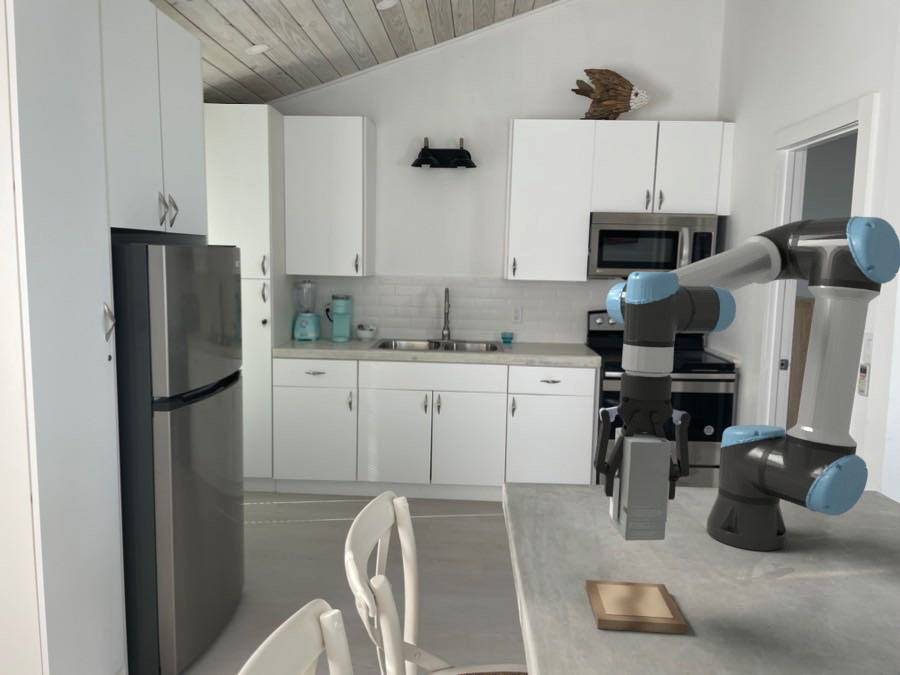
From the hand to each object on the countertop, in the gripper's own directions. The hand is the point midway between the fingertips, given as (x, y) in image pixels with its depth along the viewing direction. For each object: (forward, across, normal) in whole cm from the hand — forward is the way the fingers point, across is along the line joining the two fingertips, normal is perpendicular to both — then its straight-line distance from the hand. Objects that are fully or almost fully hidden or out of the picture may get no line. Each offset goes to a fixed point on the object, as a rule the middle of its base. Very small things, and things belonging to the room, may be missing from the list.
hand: (637, 517), depth 107 cm
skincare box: (+3, 0, 0) cm, 3 cm away
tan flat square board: (+15, 0, 0) cm, 15 cm away
